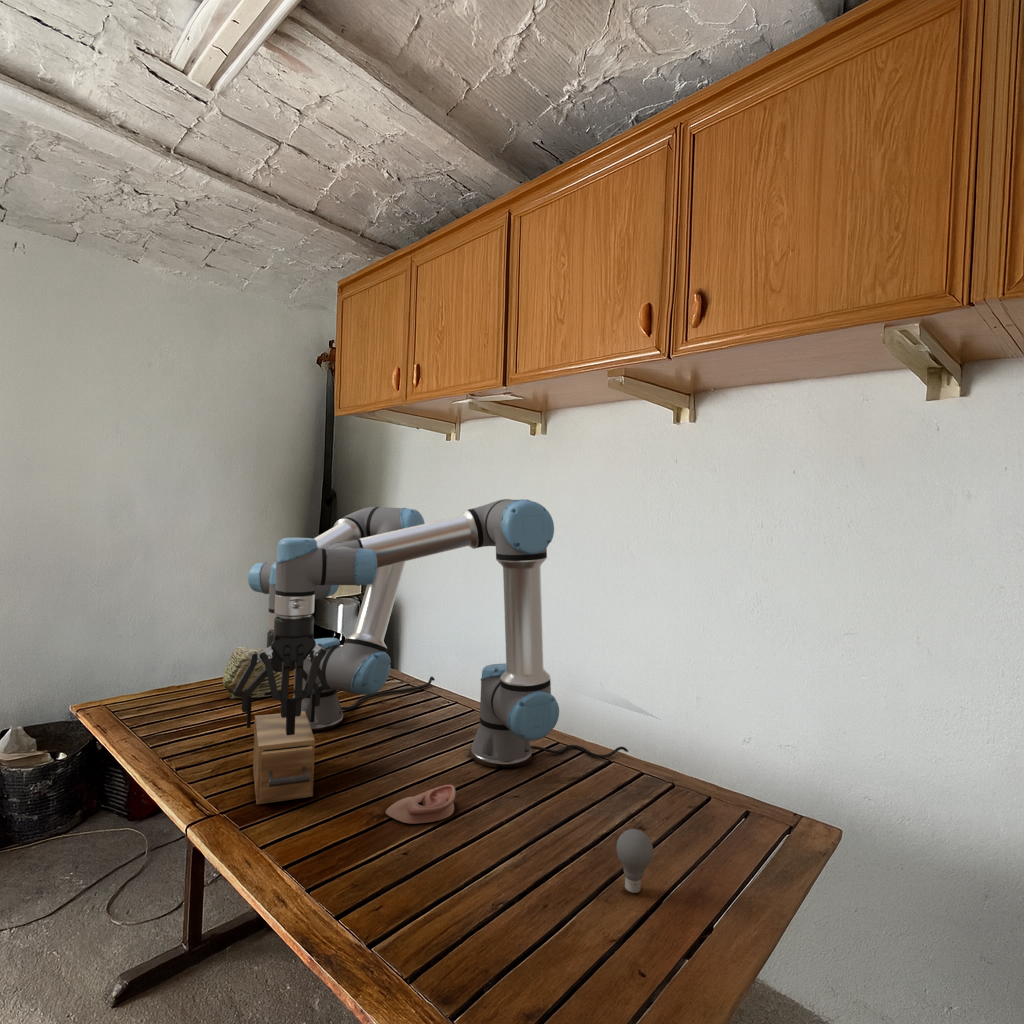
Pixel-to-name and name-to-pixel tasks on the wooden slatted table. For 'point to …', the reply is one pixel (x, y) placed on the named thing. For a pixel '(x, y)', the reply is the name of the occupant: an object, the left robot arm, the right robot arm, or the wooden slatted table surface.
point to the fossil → (237, 668)
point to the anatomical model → (424, 806)
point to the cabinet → (279, 742)
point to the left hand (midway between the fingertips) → (280, 723)
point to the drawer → (286, 773)
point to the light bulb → (634, 857)
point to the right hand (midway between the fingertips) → (290, 732)
